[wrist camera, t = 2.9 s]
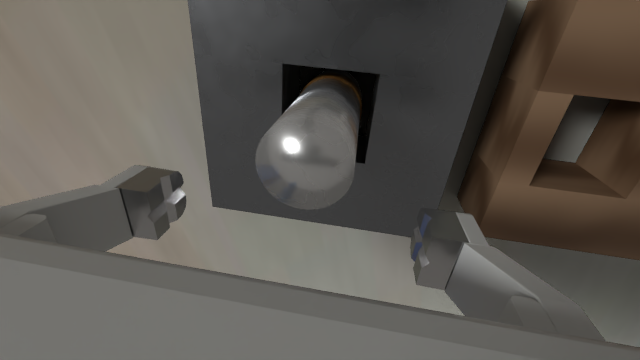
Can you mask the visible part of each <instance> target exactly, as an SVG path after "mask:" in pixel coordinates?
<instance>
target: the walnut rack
mask: <svg viewBox="0 0 640 360" xmlns="http://www.w3.org/2000/svg"><path fill="white" fill-rule="evenodd" d="M574 95H580V96H589V97H599V98H608V99H611V100H610V102H609V104H608V106H607V107H606V109H605V111H604V113H603V115H602V116H601V118H600V120H599V122H598V124H597V125H596V127H595V129H594V131H593V132H592V134H591V136H590V138H589V140H588V141H587V143H586V145H585V147H584V148H583V150H582V152H581V154H580V156H579V157H578V159H577V161H576V163H572V162H564V161H556V160H548V159H542V158H543V156H544V154H545V152H546V150H547V148H548V146H549V144H550V142H551V140H552V138H553V136H554V134H555V132H556V130H557V128H558V126H559V124H560V122H561V120H562V118H563V116H564V114H565V112H566V110H567V108H568V106H569V104H570V102H571V100H572V98H573V96H574ZM457 198H458V200H459V202H460V204H461V206H462V208H463V210H464V212H465V213H470V214H471V215H473V217H474V219H475V221H476V222H477V224H478V226H479V228H480V230H481V232H482V233H483V235H484V237H489V238H496V239H502V240H509V241H516V242H522V243H529V244H536V245H542V246H549V247H555V248H562V249H569V250H575V251H582V252H588V253H595V254H602V255H608V256H615V257H621V258H628V259H635V260H640V1H639V0H533V1H528V4H527V7H526V9H525V12H524V15H523V18H522V20H521V23H520V26H519V29H518V31H517V34H516V37H515V39H514V42H513V45H512V48H511V50H510V53H509V56H508V59H507V61H506V64H505V67H504V70H503V72H502V75H501V78H500V81H499V83H498V86H497V89H496V92H495V94H494V97H493V100H492V103H491V105H490V108H489V111H488V114H487V116H486V119H485V122H484V125H483V127H482V130H481V133H480V135H479V138H478V141H477V144H476V146H475V149H474V152H473V155H472V157H471V160H470V163H469V166H468V168H467V171H466V174H465V177H464V179H463V182H462V185H461V188H460V190H459V193H458V196H457Z"/></svg>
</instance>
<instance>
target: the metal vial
mask: <svg viewBox="0 0 640 360" xmlns="http://www.w3.org/2000/svg"><path fill="white" fill-rule="evenodd" d="M361 115H362V93H361V88H360V86H359V83H358V82H357V80H356V79H355V78H354V77H353V76H352V75H351V74H350V73H348V72H346V71H344V70H338V69H330V70H326V71H324V72H322V73H320V74H319V75H317V77H315V78H313V79H312V80H311V81H310V82H309V83H308V84H307V85H306V86H305V87H304V89H303V90H302V91H301V93H300V95H299V96H298V98H297V99H296V100H295V101H294V102H293V103H292V104H291V105H290V107H289V108H288V109H287V110H286V111H285V112H284V113H283V114H282V115H281V117H280V118H279V119H278V120H277V121H276V122H275V123H274V124H273V126H272V127H271V128H270V129H269V130H268V131H267V132H266V133H265V135H264V136H263V137H262V139H261V140H260V142H259V144H258V147H257V150H256V158H255V163H256V169H257V173H258V176H259V178H260V180H261V182H262V184H263V185H264V187H265V188H266V189H267V190H268V192H269V193H270V194H271V195H272V196H274V197H275V198H276V199H278V200H279V201H281V202H282V203H284V204H286V205H289V206H291V207H294V208H299V209H306V210H314V209H321V208H325V207H327V206H330V205H332V204H334V203H336V202H337V201H338V200H340V199H341V198H342V197H343V196H344V195H345V194H346V193H347V191H348V190H349V188H350V186H351V184H352V181H353V177H354V171H355V160H356V150H357V140H358V130H359V122H360V119H361Z"/></svg>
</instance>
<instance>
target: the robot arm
mask: <svg viewBox="0 0 640 360" xmlns="http://www.w3.org/2000/svg"><path fill="white" fill-rule="evenodd" d="M182 185H183V178H182V175H181V174H180V173H179V172H178V171H172V170H166V169H160V168H154V167H149V166H141V165H134V166H132V167H130V168H128V169H127V170H125V171H123V172H122V173H120V174H118V175H117V176H115V177H113V178H111V179H110V180H108V181H106V182H105V183H103V184H101V185H92V186H88V187H84V188H79V189H75V190H71V191H66V192H62V193H58V194H54V195H49V196H45V197H41V198H37V199H32V200H28V201H24V202H19V203H15V204H11V205H7V206H2V207H0V360H640V348H639V347H634V346H628V345H623V344H617V343H611V342H606V341H605V340H604V338H603V337H602V336H601V334H600V333H599V331H598V330H597V329H596V327H595V326H594V325H593V323H592V322H591V321H590V319H589V318H588V317H587V315H586V314H585V313H584V311H583V310H582V308H581V307H580V306H579V305H578V304H577V303H575V302H574V301H572V300H571V299H569V298H568V297H566V296H565V295H564V294H562V293H561V292H559V291H558V290H556V289H555V288H553V287H552V286H550V285H549V284H548V283H546V282H545V281H543V280H542V279H540V278H539V277H537V276H536V275H535V274H533V273H532V272H530V271H529V270H527V269H526V268H524V267H523V266H521V265H520V264H519V263H517V262H516V261H514V260H513V259H511V258H510V257H508V256H507V255H506V254H504V253H503V252H501V251H500V250H498V249H497V248H495V247H491V246H489V244H488V243H487V241H486V239H485V237H484V235H483V233H482V232H481V230H480V228H479V226H478V224H477V222H476V221H475V219H474V217H473V215H471V214H470V213H461V212H453V211H445V210H437V209H429V208H421V209H420V211H419V213H418V216H417V222H418V227H417V228H415V229H414V230H413V234H412V238H411V246H410V249H411V258H412V259H413V260H414V261H415V264H414V267H413V270H414V275H415V281H416V285H421V286H426V287H431V288H436V289H441V290H445V292H446V294H447V295H448V296H449V297H450V298H451V300H452V301H453V302H454V303H455V304H456V306H457V307H458V308H459V309H460V310H461V312H462V313H463V314H464V315H465V316H461V315H455V314H450V313H444V312H439V311H433V310H428V309H422V308H416V307H411V306H405V305H400V304H394V303H388V302H383V301H377V300H372V299H366V298H360V297H355V296H349V295H344V294H338V293H333V292H327V291H321V290H316V289H310V288H305V287H299V286H293V285H288V284H282V283H277V282H271V281H265V280H260V279H254V278H249V277H243V276H238V275H232V274H226V273H221V272H215V271H210V270H204V269H199V268H193V267H187V266H182V265H176V264H171V263H165V262H160V261H154V260H148V259H143V258H137V257H132V256H126V255H121V254H115V253H109V252H105V251H107V250H109V249H111V248H113V247H115V246H117V245H119V244H121V243H123V242H125V241H127V240H129V239H131V238H133V237H139V238H146V239H153V240H158V239H159V238H160V237H161V236H162V235H163V234H164V233H165V232H166V231H167V230H168V229H169V228H170V223H171V222H173V221H176V220H178V219H179V218H180V217H181V216H182V215H183V212H184V210H185V208H186V196H185V193H184V192H183V191H182V190H181V189H180V188H181V186H182Z"/></svg>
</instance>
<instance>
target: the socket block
mask: <svg viewBox="0 0 640 360" xmlns="http://www.w3.org/2000/svg"><path fill="white" fill-rule="evenodd" d="M506 3H507V0H188V6H189V14H190V23H191V31H192V39H193V48H194V56H195V64H196V72H197V81H198V89H199V97H200V106H201V114H202V122H203V131H204V139H205V147H206V155H207V164H208V172H209V180H210V189H211V197H212V205H213V207H219V208H226V209H232V210H238V211H245V212H251V213H258V214H264V215H271V216H277V217H284V218H290V219H297V220H303V221H309V222H316V223H322V224H329V225H335V226H342V227H348V228H355V229H361V230H368V231H374V232H381V233H387V234H393V235H400V236H406V237H412V234H413V230H414V229H415V228H417V227H418V222H417V216H418V213H419V211H420V209H421V208H429V209H438V206H439V203H440V200H441V198H442V195H443V192H444V189H445V186H446V183H447V180H448V177H449V174H450V171H451V168H452V165H453V162H454V159H455V156H456V153H457V150H458V147H459V144H460V141H461V138H462V135H463V132H464V129H465V126H466V123H467V120H468V117H469V114H470V111H471V108H472V105H473V102H474V99H475V96H476V93H477V90H478V87H479V84H480V81H481V78H482V75H483V72H484V69H485V66H486V63H487V60H488V57H489V54H490V51H491V48H492V45H493V42H494V39H495V36H496V33H497V30H498V27H499V24H500V21H501V18H502V15H503V12H504V9H505V6H506ZM300 65H301V66H311V67H320V68H329V69H338V70H348V71H357V72H366V73H376V77H375V83H374V89H373V96H372V102H371V108H370V114H369V120H368V126H367V132H366V136H359V135H358V140H357V150H356V160H355V171H354V177H353V181H352V184H351V186H350V188H349V190H348V191H347V193H346V194H345V195H344V196H343V197H342V198H341V199H340V200H338V201H337V202H336V203H334V204H332V205H330V206H327V207H325V208H321V209H314V210H306V209H299V208H294V207H291V206H289V205H286V204H284V203H282V202H281V201H279V200H278V199H276V198H275V197H274V196H272V195H271V194H270V193H269V192H268V190H267V189H266V188H265V187H264V185H263V184H262V182H261V180H260V178H259V176H258V173H257V169H256V163H255V158H256V150H257V147H258V144H259V142H260V140H261V139H262V137H263V136H264V135H265V133H266V132H267V131H268V130H269V129H270V128H271V127H272V126H273V124H274V123H275V122H276V121H277V120H278V119H279V118H280V117H281V115H282V114H283V113H284V112H285V111H286V110H287V109H288V108H289V107H290V105H291V104H292V103H293V102H294V101H295V100H296V99H297V98H298V96H299V75H300Z"/></svg>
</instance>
